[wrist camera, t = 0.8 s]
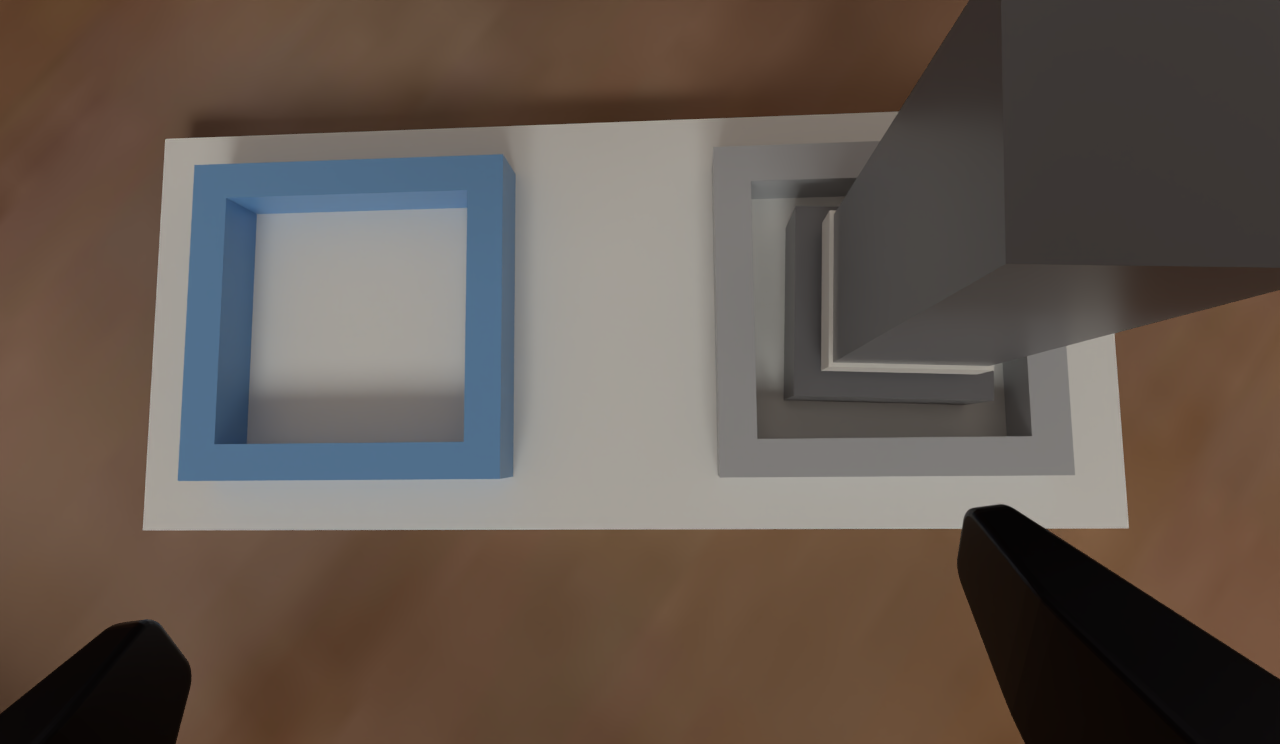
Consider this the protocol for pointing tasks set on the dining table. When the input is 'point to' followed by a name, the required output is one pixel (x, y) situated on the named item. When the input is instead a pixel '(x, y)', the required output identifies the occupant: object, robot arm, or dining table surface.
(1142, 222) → the plug
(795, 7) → the dining table surface
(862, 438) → the board
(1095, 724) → the robot arm
